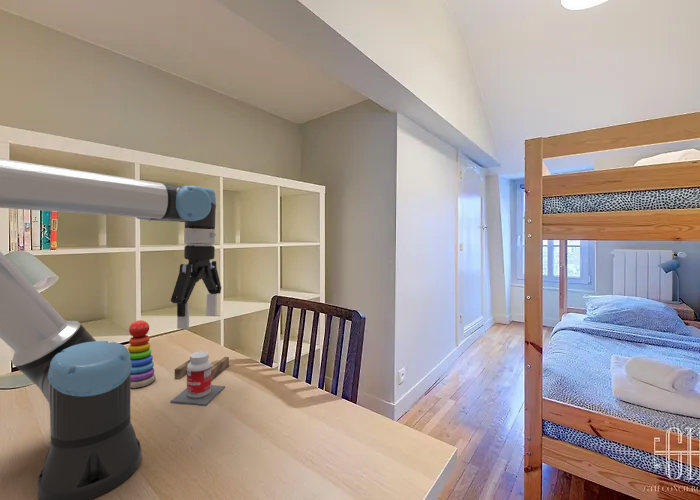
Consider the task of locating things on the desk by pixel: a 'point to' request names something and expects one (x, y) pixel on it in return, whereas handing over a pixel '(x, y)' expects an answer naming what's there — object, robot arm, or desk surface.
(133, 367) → the stacking toy
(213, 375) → the pair of wooden rails
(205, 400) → the coaster
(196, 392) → the pill bottle
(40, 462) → the desk surface
